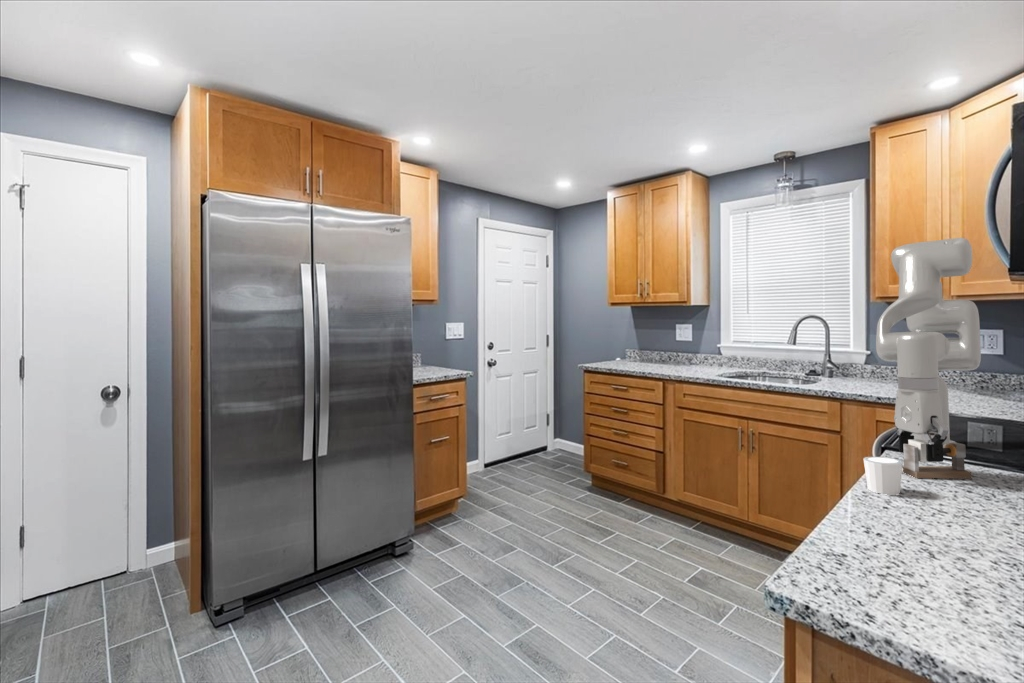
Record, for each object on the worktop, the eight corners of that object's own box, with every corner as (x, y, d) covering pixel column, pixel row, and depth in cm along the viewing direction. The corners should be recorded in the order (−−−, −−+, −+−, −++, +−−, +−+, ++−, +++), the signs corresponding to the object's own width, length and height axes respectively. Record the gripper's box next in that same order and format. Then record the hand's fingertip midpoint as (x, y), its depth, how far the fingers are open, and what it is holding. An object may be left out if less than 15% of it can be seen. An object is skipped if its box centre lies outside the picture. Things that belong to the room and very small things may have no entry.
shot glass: (871, 495, 106) (870, 463, 106) (859, 486, 113) (858, 455, 112) (909, 497, 104) (908, 464, 104) (895, 487, 110) (894, 456, 110)
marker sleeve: (908, 457, 120) (908, 439, 120) (919, 457, 120) (919, 439, 120) (921, 462, 116) (920, 443, 116) (932, 462, 116) (931, 443, 116)
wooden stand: (903, 472, 121) (901, 442, 121) (955, 472, 119) (954, 441, 119) (916, 478, 116) (915, 446, 116) (971, 478, 114) (970, 446, 114)
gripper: (878, 381, 127) (881, 448, 127) (925, 388, 110) (928, 465, 110) (911, 381, 126) (913, 448, 126) (963, 388, 109) (965, 465, 109)
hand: (920, 456), depth 118 cm, fingers open, 9 cm apart
